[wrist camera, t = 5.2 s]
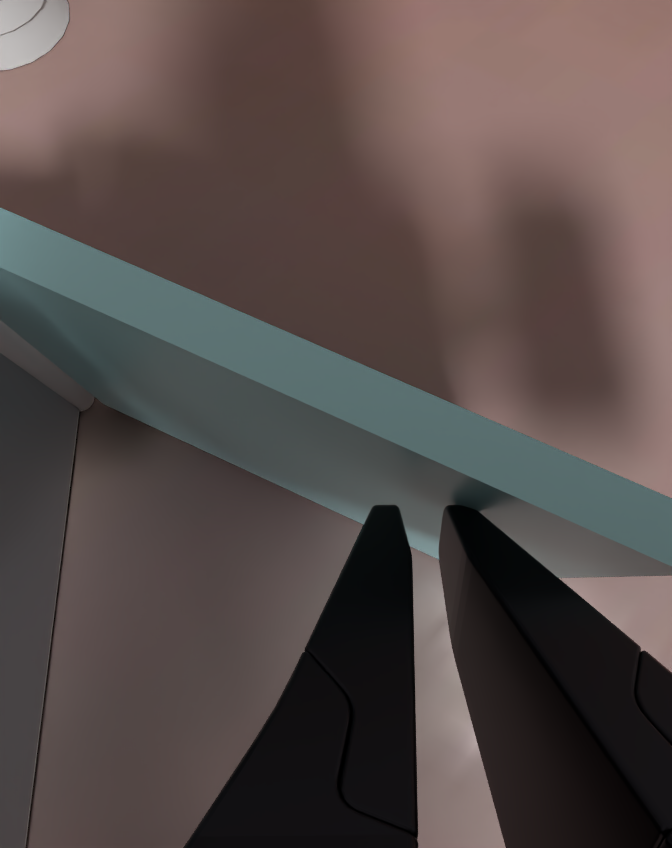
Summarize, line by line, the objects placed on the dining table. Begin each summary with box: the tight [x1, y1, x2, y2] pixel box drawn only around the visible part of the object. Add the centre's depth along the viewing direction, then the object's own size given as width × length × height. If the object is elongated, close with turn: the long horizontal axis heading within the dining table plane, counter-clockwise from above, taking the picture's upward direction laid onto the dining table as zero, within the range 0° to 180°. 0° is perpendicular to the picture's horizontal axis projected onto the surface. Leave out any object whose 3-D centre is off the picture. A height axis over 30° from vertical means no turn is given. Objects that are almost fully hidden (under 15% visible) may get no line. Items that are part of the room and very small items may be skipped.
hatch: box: [0, 208, 672, 578], centre depth 12 cm, size 12×2×9 cm, turn 65°
